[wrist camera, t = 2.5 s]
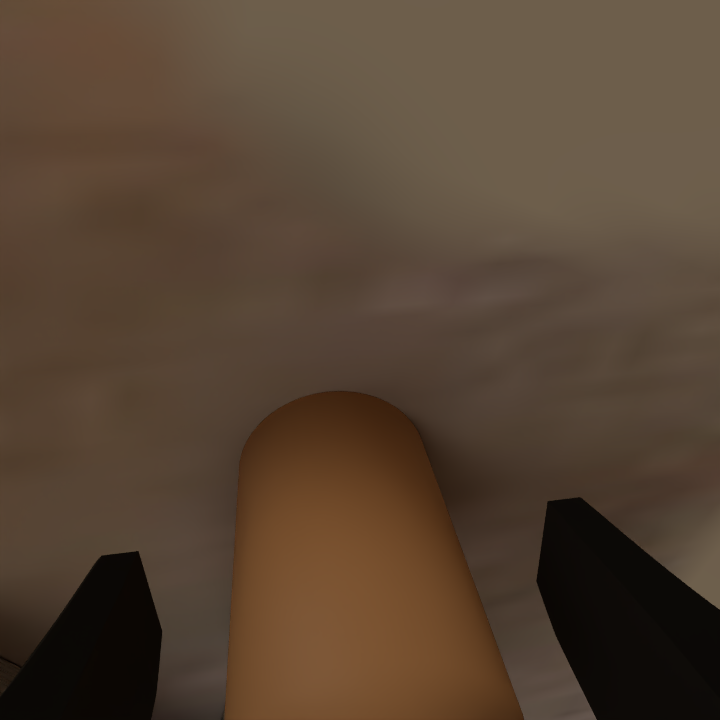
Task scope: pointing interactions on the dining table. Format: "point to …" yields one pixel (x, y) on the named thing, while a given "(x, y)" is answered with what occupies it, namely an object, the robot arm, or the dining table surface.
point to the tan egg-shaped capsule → (353, 577)
